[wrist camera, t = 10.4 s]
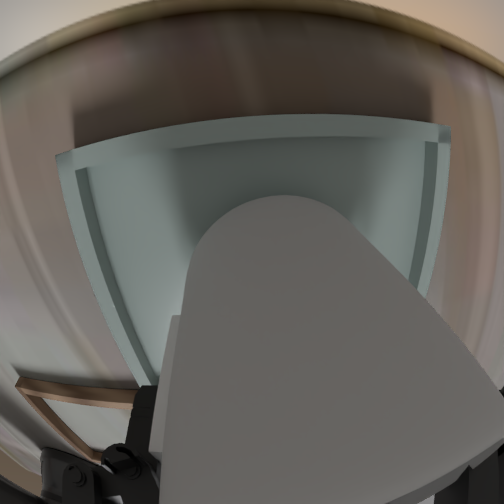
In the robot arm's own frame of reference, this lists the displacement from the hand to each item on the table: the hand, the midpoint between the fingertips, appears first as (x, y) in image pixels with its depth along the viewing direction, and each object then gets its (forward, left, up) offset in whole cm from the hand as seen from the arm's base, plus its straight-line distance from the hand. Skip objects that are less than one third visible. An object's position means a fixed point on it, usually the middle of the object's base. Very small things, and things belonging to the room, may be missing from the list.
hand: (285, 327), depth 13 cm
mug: (-1, 0, -2) cm, 2 cm away
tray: (0, 0, -4) cm, 4 cm away
